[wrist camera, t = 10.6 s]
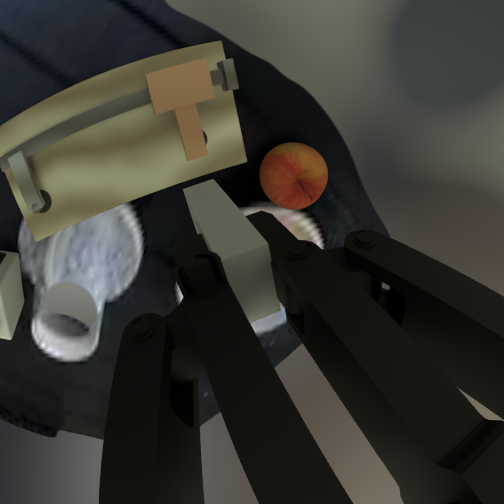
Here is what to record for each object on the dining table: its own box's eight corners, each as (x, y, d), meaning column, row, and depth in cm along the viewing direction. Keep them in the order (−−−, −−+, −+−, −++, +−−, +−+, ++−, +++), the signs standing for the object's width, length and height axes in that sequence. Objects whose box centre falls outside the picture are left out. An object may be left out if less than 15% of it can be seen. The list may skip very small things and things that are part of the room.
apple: (296, 128, 33) (334, 140, 26) (309, 181, 37) (346, 203, 31) (240, 150, 32) (268, 166, 26) (259, 204, 36) (287, 231, 30)
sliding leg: (145, 79, 23) (145, 74, 19) (194, 65, 24) (206, 58, 20) (166, 156, 28) (171, 168, 23) (212, 141, 29) (227, 150, 24)
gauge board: (-5, 130, 20) (-19, 135, 17) (218, 42, 25) (227, 36, 22) (38, 237, 28) (30, 252, 25) (243, 159, 33) (254, 166, 30)
